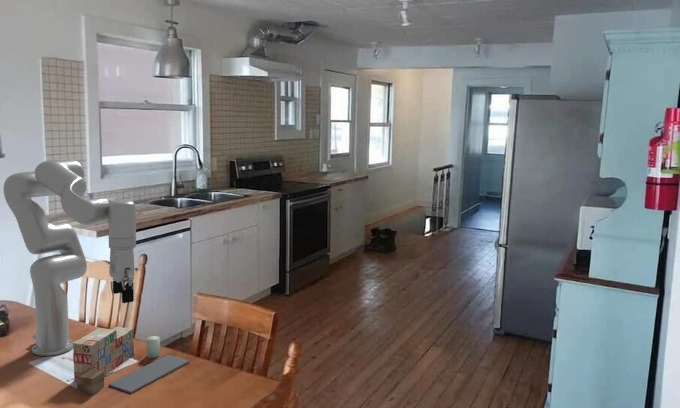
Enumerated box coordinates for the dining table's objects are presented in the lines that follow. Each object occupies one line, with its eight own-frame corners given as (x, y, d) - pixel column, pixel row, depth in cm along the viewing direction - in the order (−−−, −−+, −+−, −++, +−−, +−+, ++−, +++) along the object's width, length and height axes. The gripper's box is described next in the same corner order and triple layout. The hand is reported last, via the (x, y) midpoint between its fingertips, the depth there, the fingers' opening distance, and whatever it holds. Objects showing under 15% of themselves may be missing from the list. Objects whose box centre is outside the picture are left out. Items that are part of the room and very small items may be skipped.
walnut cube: (77, 393, 155) (77, 376, 154) (89, 384, 160) (88, 368, 159) (93, 395, 154) (92, 378, 154) (104, 387, 159) (103, 370, 158)
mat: (108, 386, 160) (108, 384, 160) (168, 356, 181) (168, 354, 181) (131, 393, 156) (131, 391, 156) (189, 362, 177) (189, 360, 177)
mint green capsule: (144, 356, 180) (144, 339, 179) (153, 352, 184) (153, 335, 183) (153, 359, 178) (153, 341, 178) (162, 354, 182) (162, 337, 181)
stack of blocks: (117, 352, 182) (116, 317, 181) (134, 355, 181) (133, 319, 179) (73, 381, 162) (72, 342, 160) (92, 384, 160) (91, 344, 159)
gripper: (101, 237, 167) (102, 291, 169) (117, 249, 153) (118, 308, 156) (127, 235, 171) (127, 287, 174) (144, 247, 158) (144, 304, 160)
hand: (123, 297), depth 165 cm, fingers open, 9 cm apart
